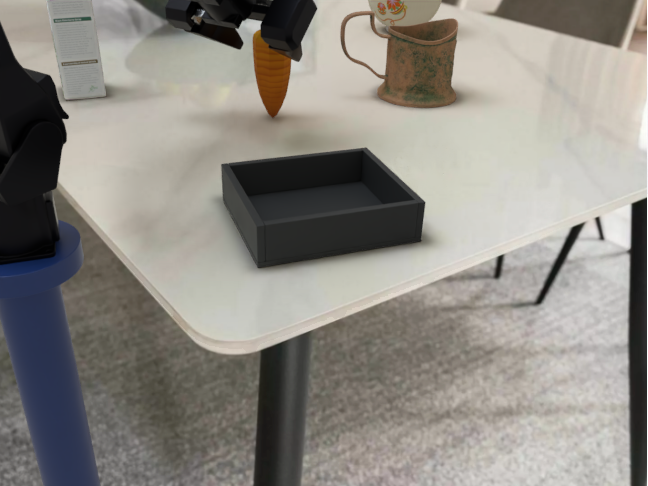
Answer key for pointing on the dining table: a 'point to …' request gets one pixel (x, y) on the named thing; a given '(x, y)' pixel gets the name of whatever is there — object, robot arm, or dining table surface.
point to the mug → (415, 62)
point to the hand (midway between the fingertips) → (269, 52)
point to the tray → (319, 205)
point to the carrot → (270, 74)
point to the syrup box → (76, 48)
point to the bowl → (404, 11)
